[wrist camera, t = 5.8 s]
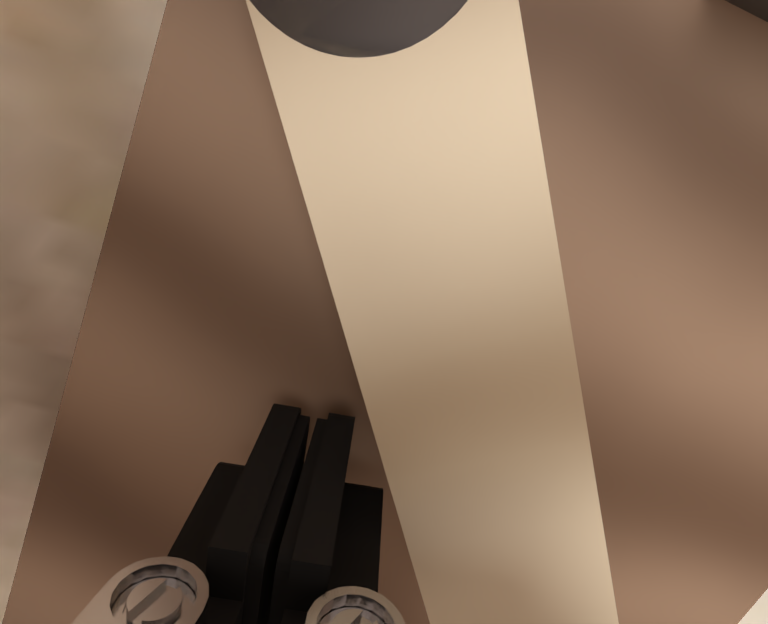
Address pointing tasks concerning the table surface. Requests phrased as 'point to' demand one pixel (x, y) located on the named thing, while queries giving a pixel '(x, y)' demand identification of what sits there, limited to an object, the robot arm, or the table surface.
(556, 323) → the folding leg
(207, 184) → the brown flat slab
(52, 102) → the table surface
